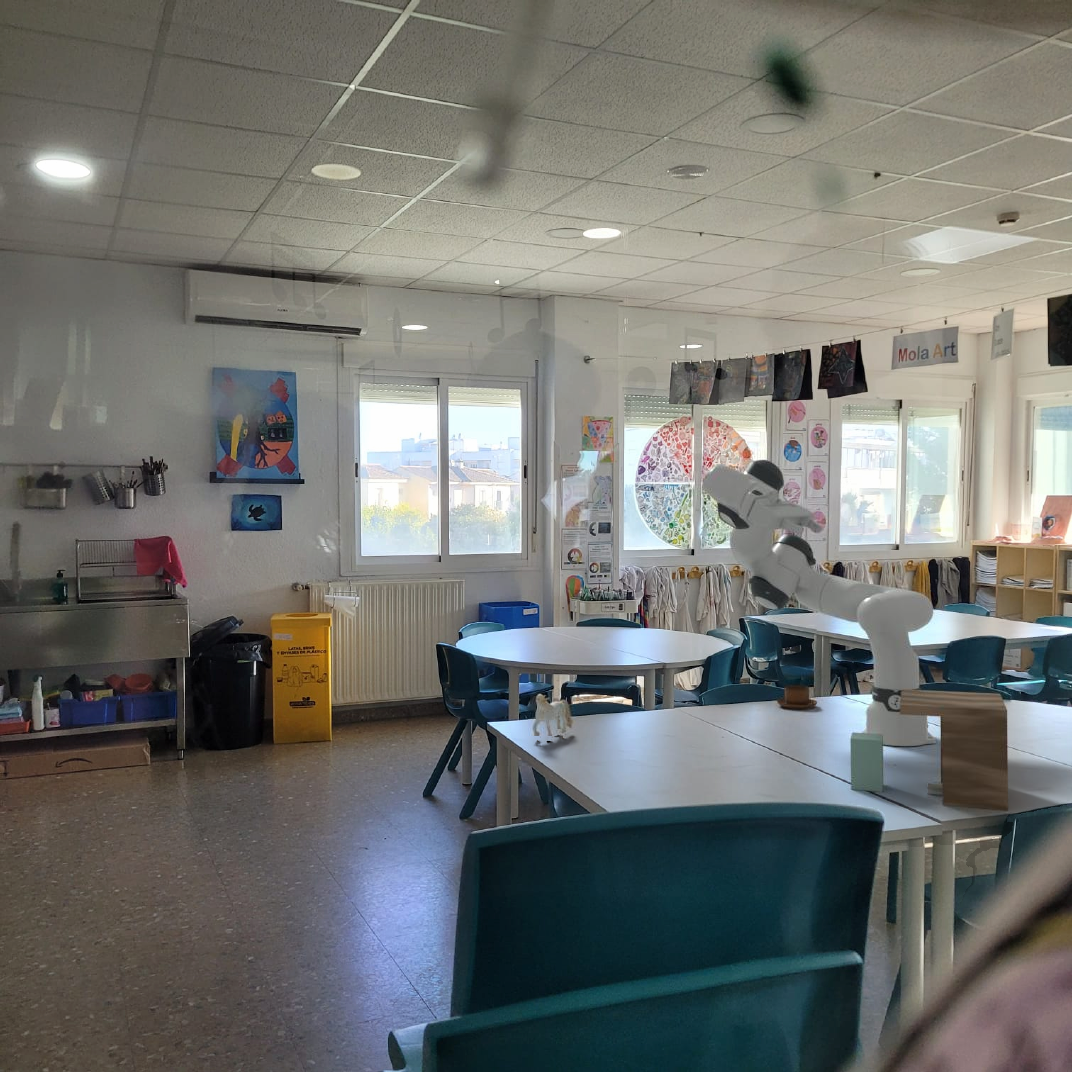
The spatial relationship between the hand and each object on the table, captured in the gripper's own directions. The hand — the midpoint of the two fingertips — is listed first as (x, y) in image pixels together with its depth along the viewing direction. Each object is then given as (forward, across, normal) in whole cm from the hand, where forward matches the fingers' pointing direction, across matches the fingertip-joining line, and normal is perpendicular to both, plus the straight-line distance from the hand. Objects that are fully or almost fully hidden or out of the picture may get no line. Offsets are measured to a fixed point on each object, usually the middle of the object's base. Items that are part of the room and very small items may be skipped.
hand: (811, 531), depth 226 cm
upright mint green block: (+38, +5, -43) cm, 57 cm away
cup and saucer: (-8, -70, -69) cm, 99 cm away
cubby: (+53, -1, -35) cm, 64 cm away
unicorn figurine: (-34, +11, -81) cm, 88 cm away
